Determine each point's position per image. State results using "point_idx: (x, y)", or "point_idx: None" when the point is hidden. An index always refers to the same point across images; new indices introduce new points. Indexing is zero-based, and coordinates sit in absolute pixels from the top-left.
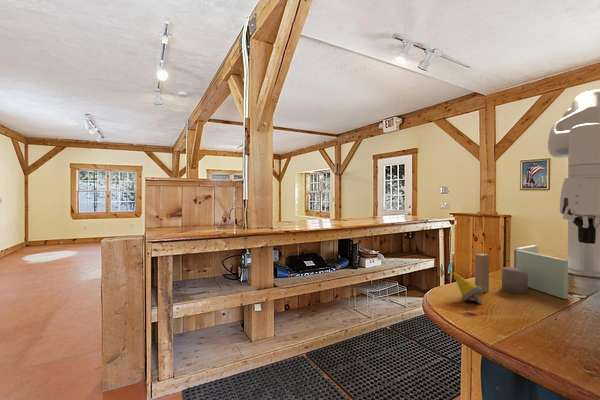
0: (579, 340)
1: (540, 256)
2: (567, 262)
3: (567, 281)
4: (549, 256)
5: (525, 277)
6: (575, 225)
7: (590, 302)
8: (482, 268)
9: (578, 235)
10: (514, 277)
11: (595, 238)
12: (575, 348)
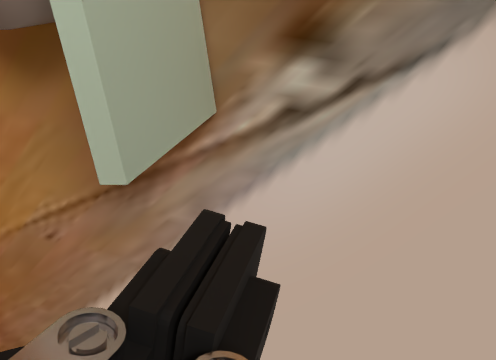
0: (30, 322)
1: (57, 10)
2: (130, 178)
3: (183, 136)
4: (92, 57)
5: (39, 23)
6: (66, 315)
7: (277, 158)
8: None
9: (145, 267)
10: None
11: (266, 337)
12: (3, 337)
